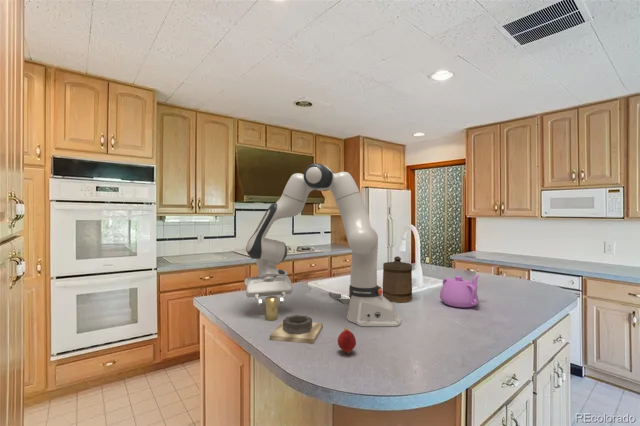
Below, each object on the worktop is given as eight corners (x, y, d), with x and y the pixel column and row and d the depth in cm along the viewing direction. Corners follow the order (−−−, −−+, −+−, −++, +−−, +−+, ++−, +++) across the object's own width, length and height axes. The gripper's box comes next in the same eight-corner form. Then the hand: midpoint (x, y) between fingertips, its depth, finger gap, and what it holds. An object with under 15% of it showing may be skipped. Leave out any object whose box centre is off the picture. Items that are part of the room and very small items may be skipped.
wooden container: (415, 297, 170) (415, 255, 170) (407, 304, 157) (407, 259, 157) (388, 293, 177) (388, 254, 177) (378, 300, 165) (378, 257, 165)
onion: (354, 348, 106) (354, 324, 106) (357, 356, 101) (357, 331, 101) (336, 349, 106) (337, 325, 106) (338, 357, 100) (338, 331, 100)
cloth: (363, 306, 156) (363, 301, 156) (336, 308, 153) (336, 303, 153) (347, 293, 182) (347, 289, 182) (323, 294, 178) (323, 290, 178)
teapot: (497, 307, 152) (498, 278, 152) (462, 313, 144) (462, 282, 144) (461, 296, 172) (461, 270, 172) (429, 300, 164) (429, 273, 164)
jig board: (322, 327, 126) (322, 314, 126) (313, 343, 111) (313, 329, 111) (283, 324, 130) (283, 311, 130) (269, 339, 114) (269, 325, 114)
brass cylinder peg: (279, 317, 138) (279, 296, 138) (275, 321, 133) (275, 299, 133) (268, 316, 139) (268, 295, 139) (263, 320, 134) (263, 299, 134)
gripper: (244, 273, 141) (246, 301, 132) (290, 270, 147) (295, 297, 138) (243, 281, 145) (245, 309, 136) (288, 278, 151) (293, 305, 142)
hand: (271, 303), depth 137 cm, fingers open, 8 cm apart
